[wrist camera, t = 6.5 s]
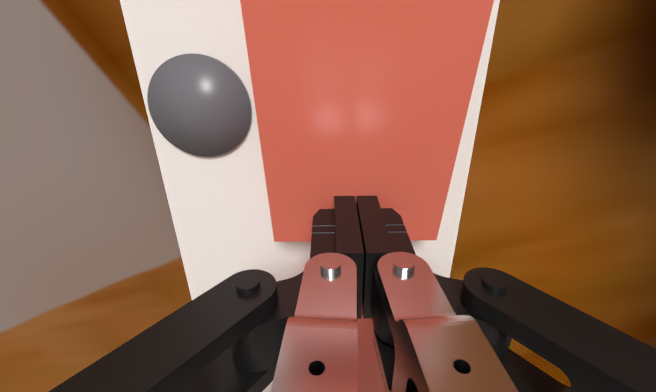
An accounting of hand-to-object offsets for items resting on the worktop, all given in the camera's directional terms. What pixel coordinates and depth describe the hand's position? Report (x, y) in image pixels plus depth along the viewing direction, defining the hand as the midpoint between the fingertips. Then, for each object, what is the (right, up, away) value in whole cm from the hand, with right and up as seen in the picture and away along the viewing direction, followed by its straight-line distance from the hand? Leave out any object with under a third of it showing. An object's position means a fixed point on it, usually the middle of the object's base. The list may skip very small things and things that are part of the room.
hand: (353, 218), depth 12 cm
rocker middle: (0, +3, -2) cm, 4 cm away
